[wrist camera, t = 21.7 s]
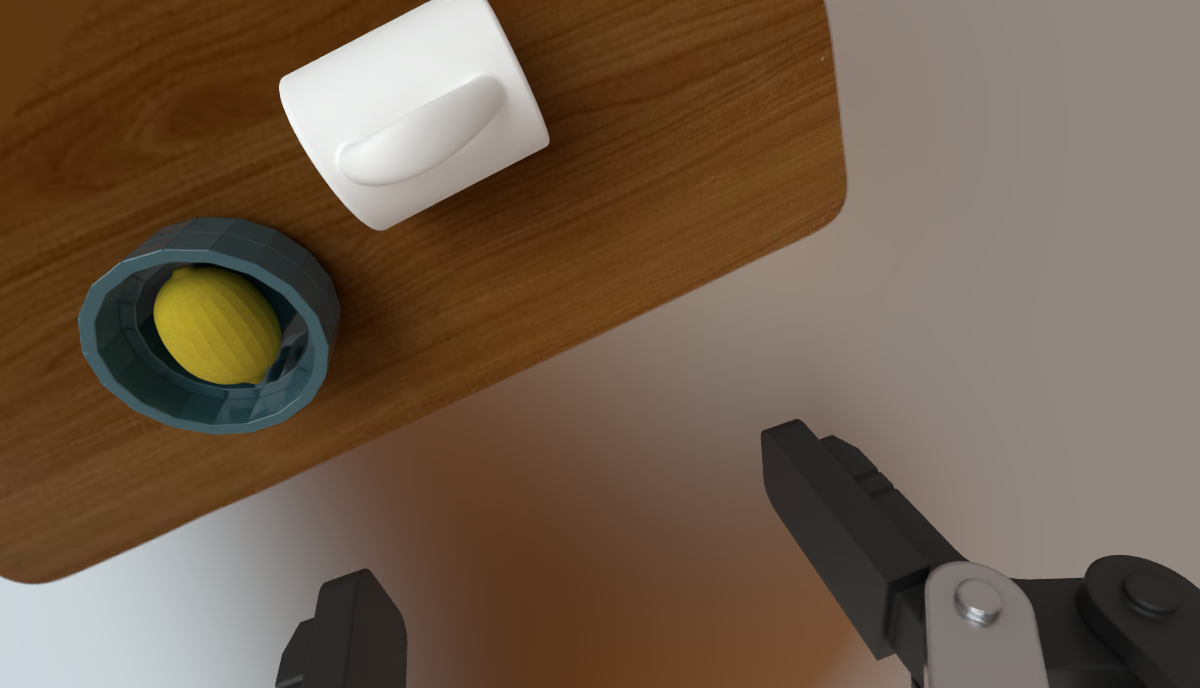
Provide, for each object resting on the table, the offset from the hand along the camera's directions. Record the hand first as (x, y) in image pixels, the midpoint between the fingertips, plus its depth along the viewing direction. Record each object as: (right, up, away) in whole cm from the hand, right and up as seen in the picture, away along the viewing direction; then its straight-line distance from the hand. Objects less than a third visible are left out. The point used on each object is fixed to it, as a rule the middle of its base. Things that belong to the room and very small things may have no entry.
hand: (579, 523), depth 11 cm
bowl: (-22, +6, +24) cm, 33 cm away
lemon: (-20, +1, +24) cm, 31 cm away
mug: (-10, +18, +21) cm, 29 cm away
